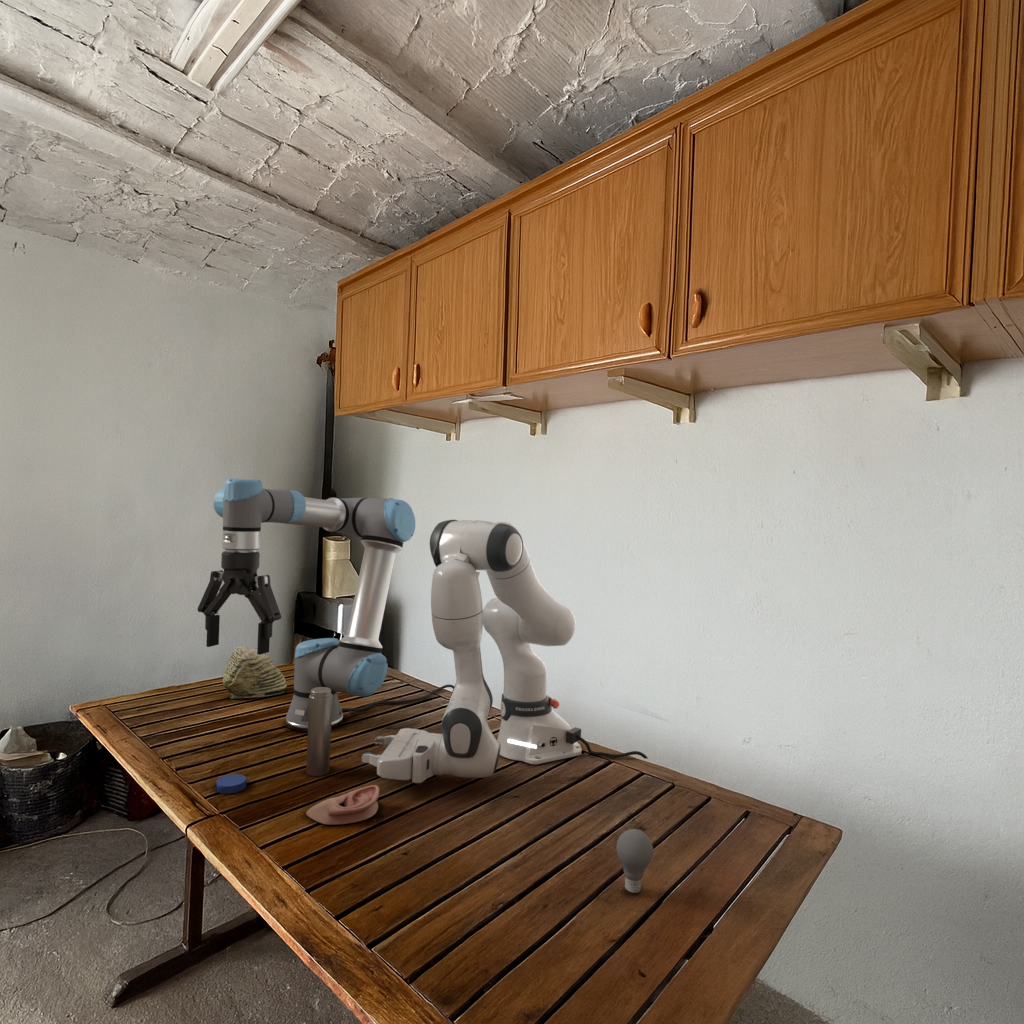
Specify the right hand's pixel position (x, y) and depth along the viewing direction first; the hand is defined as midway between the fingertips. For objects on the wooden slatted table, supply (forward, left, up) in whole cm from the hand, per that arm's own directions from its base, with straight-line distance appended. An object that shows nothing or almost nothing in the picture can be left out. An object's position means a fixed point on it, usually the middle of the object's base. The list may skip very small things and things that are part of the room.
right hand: (369, 748), depth 145 cm
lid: (+29, -1, -5) cm, 29 cm away
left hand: (+29, -1, +24) cm, 37 cm away
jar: (+11, -5, -6) cm, 13 cm away
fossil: (+27, -66, -6) cm, 72 cm away
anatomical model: (+7, +16, -6) cm, 19 cm away
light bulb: (-36, +55, -6) cm, 66 cm away
